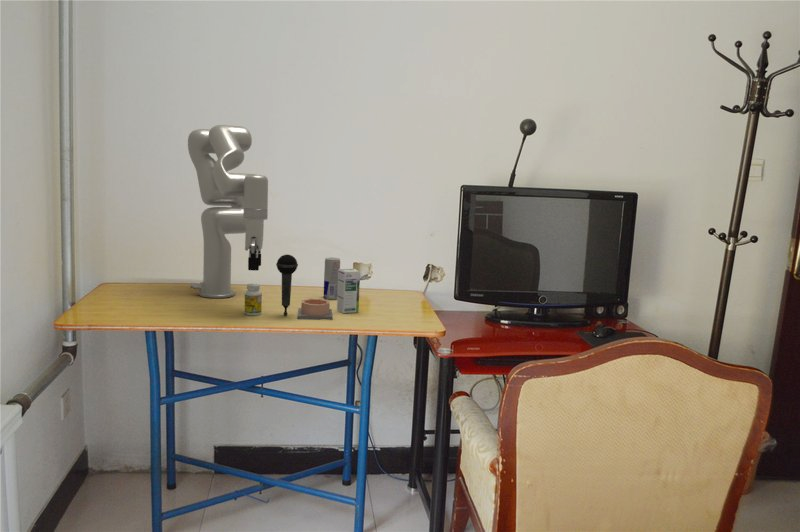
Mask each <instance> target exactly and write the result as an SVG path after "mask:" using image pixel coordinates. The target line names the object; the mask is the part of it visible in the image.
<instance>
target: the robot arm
mask: <svg viewBox="0 0 800 532" xmlns="http://www.w3.org/2000/svg"><path fill="white" fill-rule="evenodd" d="M252 139H253V138H252V134H251V133H250V131H249V129H248V128H246V127H244V126H240V125H227V124H220V125H219V124H218V125H215V126H212V127H211V128H208V129H206V128H200V129H199V128H198V129H195V130H192V131H191V132H189V134H188V138H187V149H188V150H187V151H188V155H189V158H190V159H191V161H192V164H193V165H194V168H195V171H196V175H197V181H198V182H197V183H198V187H199V192H200V198H201V199H202V202H203V203H204V204H205V205H207V206H212V207H208V208H206V209H204V210H203V211H202V213H201V215H200V222H201V228H202V235H203V236H202V237H203V267H202V269H203V280H202V282H190V289H194V290H199V291H198V296H200V297H201V298H202V297H203V298H209V299H210V298H211V299H223V298H224V299H225V298H230V297H234V296H235V295H236V291H235V290H234V289H232V288H231V285H232V284H231V282H232V281H231V277H232V245H231V243H230V241H229V240H228V239H227V238H226V235H229V234H231V235H233V234H237V235H238V234H245V239H244V250H245V251H248V250H249V251H248V259H247V260H248V262H247V269H248V271H259V270H260V268H259V267H261V265H262V253H261V250H262V249H263V245H264V244H263V242H264V228H265V227H264V226H265V225H264V223H265V222H264V220H265V221H266V220H268V214H269V213H268V211H269V208H268V205H269V204H268V202H269V200H268V198H269V197H268V196H269V194H268V193H269V180H268V178H267V176H266V175H262V174H256V173H240V172H239V173H235V172H228V171H232V170H234V169H236V168H238V167H240V165H241V164H242V163H243V162H244V160H245V154H244V153H245V152H247V151H249V150H250V148H251V146H252V142H253V140H252ZM210 154H215V155H216V158H217V160H215V158H214V157H212V156H211V155H210Z"/></svg>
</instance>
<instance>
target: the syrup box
mask: <svg viewBox="0 0 800 532" xmlns="http://www.w3.org/2000/svg"><path fill="white" fill-rule="evenodd" d="M360 281H361V270H359V269H357V268H340V269H338V296H337V299H336V300H337V302H336V303H337V304H336V310H337V311H339V313H342V314H350V313H351V314H354V313H355V314H356V313H359V307H360V306H359V305H360V283H361V282H360Z"/></svg>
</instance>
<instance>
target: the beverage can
mask: <svg viewBox="0 0 800 532" xmlns="http://www.w3.org/2000/svg"><path fill="white" fill-rule="evenodd" d="M338 269H341V258H339V257H332V256H331V257H326V258H324V272H323V274H324V276H323V277H324V279H323V296H322V297H323V298H324V299H325V300H326V299H327V300H337V296H338Z"/></svg>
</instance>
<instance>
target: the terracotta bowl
mask: <svg viewBox="0 0 800 532" xmlns="http://www.w3.org/2000/svg"><path fill="white" fill-rule="evenodd" d="M300 305H301V306H300V307H298V309H297V310H298V312H297V320H320V319H330V320H329V321H332V320H333V309H332V308H330V307H331V306H330V300H328V299H327V300H326V299H322V298H306V299H301V304H300ZM331 319H332V320H331Z"/></svg>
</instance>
